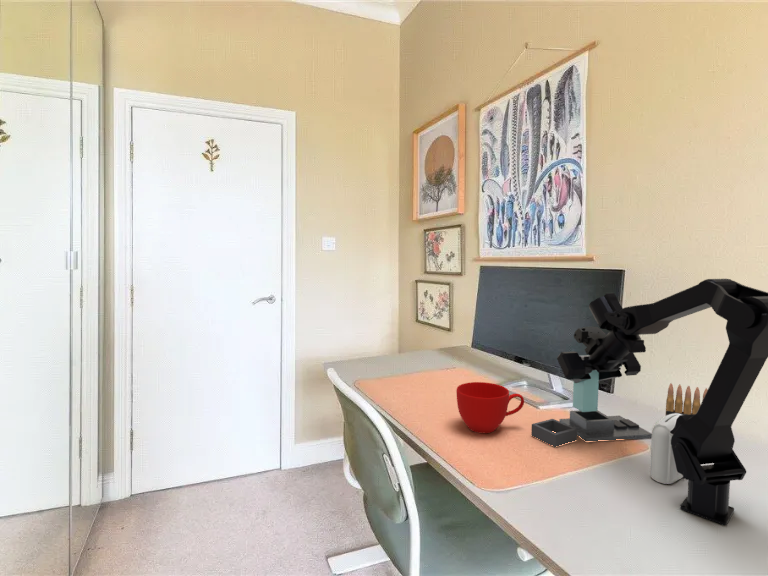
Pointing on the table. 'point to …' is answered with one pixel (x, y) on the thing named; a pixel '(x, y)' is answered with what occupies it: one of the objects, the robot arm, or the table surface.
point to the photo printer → (663, 451)
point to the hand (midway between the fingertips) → (582, 380)
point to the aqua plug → (586, 392)
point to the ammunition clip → (679, 402)
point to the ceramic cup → (484, 405)
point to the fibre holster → (545, 432)
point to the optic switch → (604, 426)
